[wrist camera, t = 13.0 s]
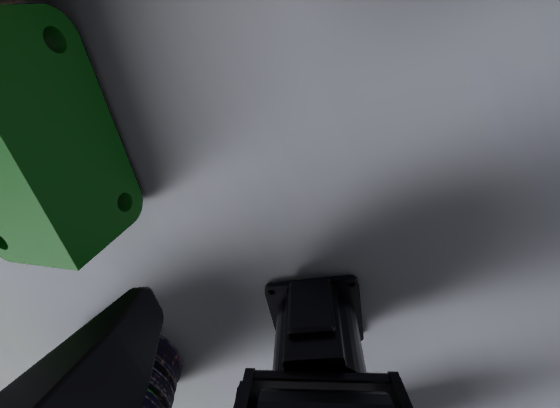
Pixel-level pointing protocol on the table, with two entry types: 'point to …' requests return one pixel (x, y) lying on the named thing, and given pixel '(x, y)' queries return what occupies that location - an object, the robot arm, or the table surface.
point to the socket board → (9, 1)
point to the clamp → (57, 146)
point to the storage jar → (163, 376)
